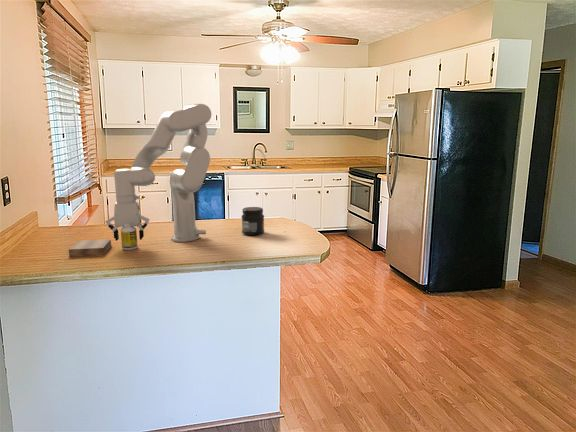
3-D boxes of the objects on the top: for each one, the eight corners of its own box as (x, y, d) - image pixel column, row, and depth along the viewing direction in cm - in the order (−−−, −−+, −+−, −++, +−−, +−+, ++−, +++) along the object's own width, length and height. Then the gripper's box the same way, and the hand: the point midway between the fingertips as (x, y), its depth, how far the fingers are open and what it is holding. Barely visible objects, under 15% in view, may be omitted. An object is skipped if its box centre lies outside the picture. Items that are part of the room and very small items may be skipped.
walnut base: (111, 246, 193) (110, 239, 192) (103, 255, 180) (103, 247, 180) (79, 247, 191) (78, 240, 190) (69, 256, 179) (68, 249, 178)
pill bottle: (132, 250, 186) (130, 224, 184) (119, 249, 188) (116, 224, 185) (140, 246, 192) (138, 221, 190) (127, 245, 193) (125, 220, 191)
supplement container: (264, 230, 218) (264, 206, 216) (264, 236, 208) (263, 210, 205) (242, 231, 218) (242, 206, 215) (241, 236, 208) (240, 211, 205)
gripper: (149, 197, 190) (151, 236, 194) (106, 198, 188) (109, 238, 191) (146, 200, 183) (149, 240, 187) (101, 201, 181) (105, 242, 184)
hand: (129, 239), depth 189 cm, fingers open, 9 cm apart
